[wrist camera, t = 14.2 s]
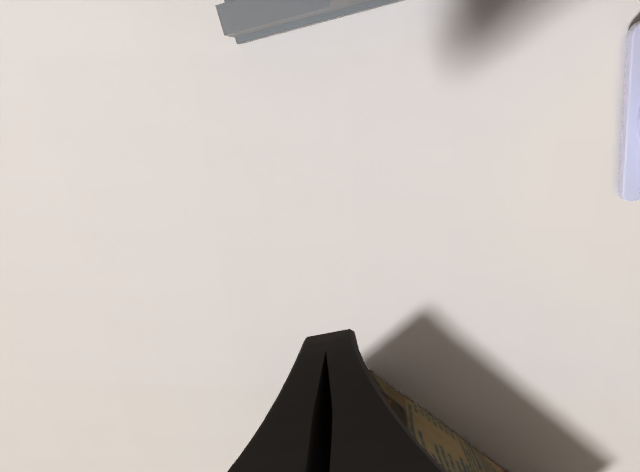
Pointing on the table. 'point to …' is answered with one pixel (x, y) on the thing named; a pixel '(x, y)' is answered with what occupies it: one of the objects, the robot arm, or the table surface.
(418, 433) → the beverage carton
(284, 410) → the robot arm
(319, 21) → the housing
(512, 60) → the table surface
